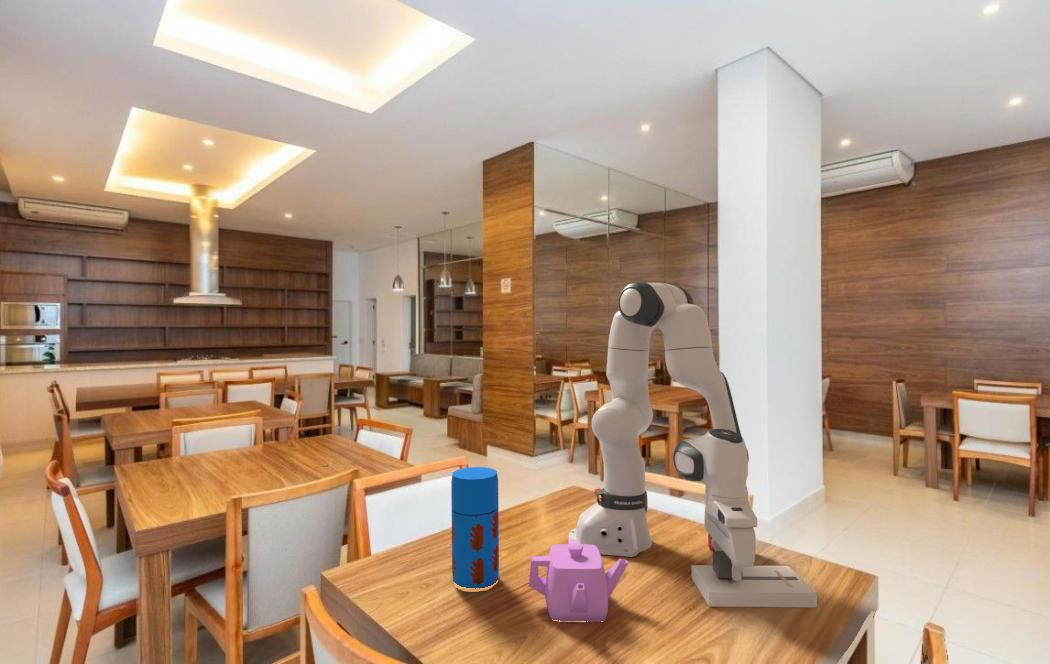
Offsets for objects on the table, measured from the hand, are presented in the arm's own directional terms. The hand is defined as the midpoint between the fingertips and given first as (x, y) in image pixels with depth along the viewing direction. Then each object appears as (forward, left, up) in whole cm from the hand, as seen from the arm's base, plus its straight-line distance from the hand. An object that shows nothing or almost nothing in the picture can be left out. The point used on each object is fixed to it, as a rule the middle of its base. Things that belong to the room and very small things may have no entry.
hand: (727, 568), depth 109 cm
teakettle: (-33, -6, -6) cm, 34 cm away
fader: (0, 0, -2) cm, 2 cm away
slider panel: (+5, 0, -5) cm, 7 cm away
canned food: (+7, +21, -5) cm, 23 cm away
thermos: (-56, +4, -5) cm, 56 cm away
